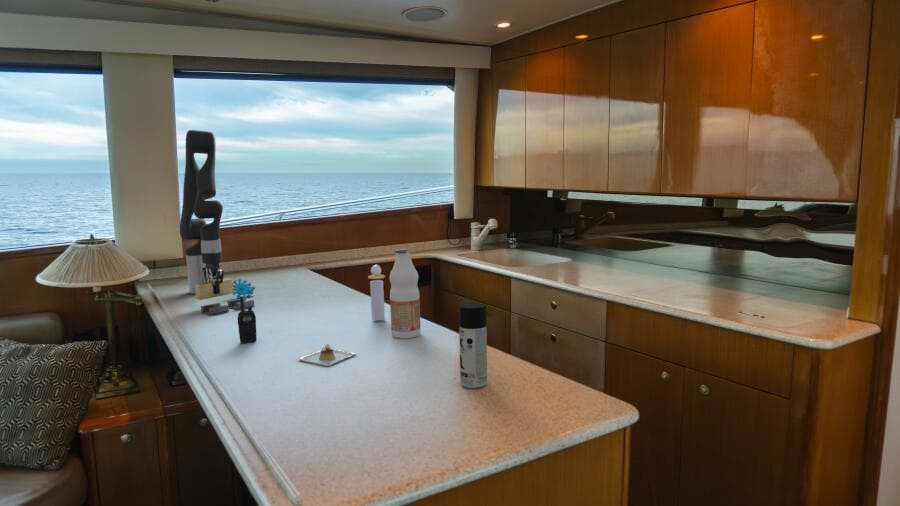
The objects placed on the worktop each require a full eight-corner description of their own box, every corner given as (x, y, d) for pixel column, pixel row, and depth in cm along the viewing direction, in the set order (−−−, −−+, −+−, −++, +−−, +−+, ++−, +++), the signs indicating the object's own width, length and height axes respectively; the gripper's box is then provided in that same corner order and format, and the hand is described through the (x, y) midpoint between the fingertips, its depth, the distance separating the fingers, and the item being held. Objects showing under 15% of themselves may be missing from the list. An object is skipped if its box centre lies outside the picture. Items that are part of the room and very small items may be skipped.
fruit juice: (397, 340, 187) (394, 252, 183) (387, 333, 195) (383, 248, 191) (425, 336, 191) (422, 249, 187) (414, 329, 199) (411, 246, 195)
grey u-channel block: (201, 312, 231) (200, 306, 231) (243, 303, 245) (243, 297, 244) (211, 315, 226) (211, 309, 226) (254, 306, 239) (254, 300, 239)
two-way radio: (240, 344, 187) (236, 297, 185) (238, 341, 191) (234, 295, 189) (258, 341, 190) (254, 295, 188) (255, 338, 194) (252, 293, 192)
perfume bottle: (381, 323, 208) (378, 266, 205) (367, 322, 211) (364, 266, 208) (389, 319, 213) (387, 264, 210) (375, 318, 216) (373, 263, 213)
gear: (233, 296, 251) (228, 277, 256) (229, 305, 254) (224, 286, 260) (259, 296, 258) (254, 278, 263) (254, 304, 261) (250, 286, 266)
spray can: (459, 380, 151) (457, 302, 148) (485, 378, 152) (484, 301, 149) (461, 390, 144) (459, 309, 142) (489, 388, 145) (488, 307, 142)
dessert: (328, 369, 163) (327, 352, 163) (296, 362, 170) (295, 346, 169) (357, 357, 174) (356, 341, 173) (326, 351, 180) (325, 335, 179)
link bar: (196, 298, 237) (194, 283, 236) (229, 292, 247) (228, 278, 246) (199, 300, 235) (198, 285, 234) (233, 293, 245) (232, 279, 244)
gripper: (193, 250, 240) (197, 292, 243) (211, 253, 231) (214, 297, 233) (211, 248, 245) (215, 289, 248) (229, 251, 236) (232, 294, 239)
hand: (214, 292), depth 241 cm, fingers closed on link bar, 3 cm apart
